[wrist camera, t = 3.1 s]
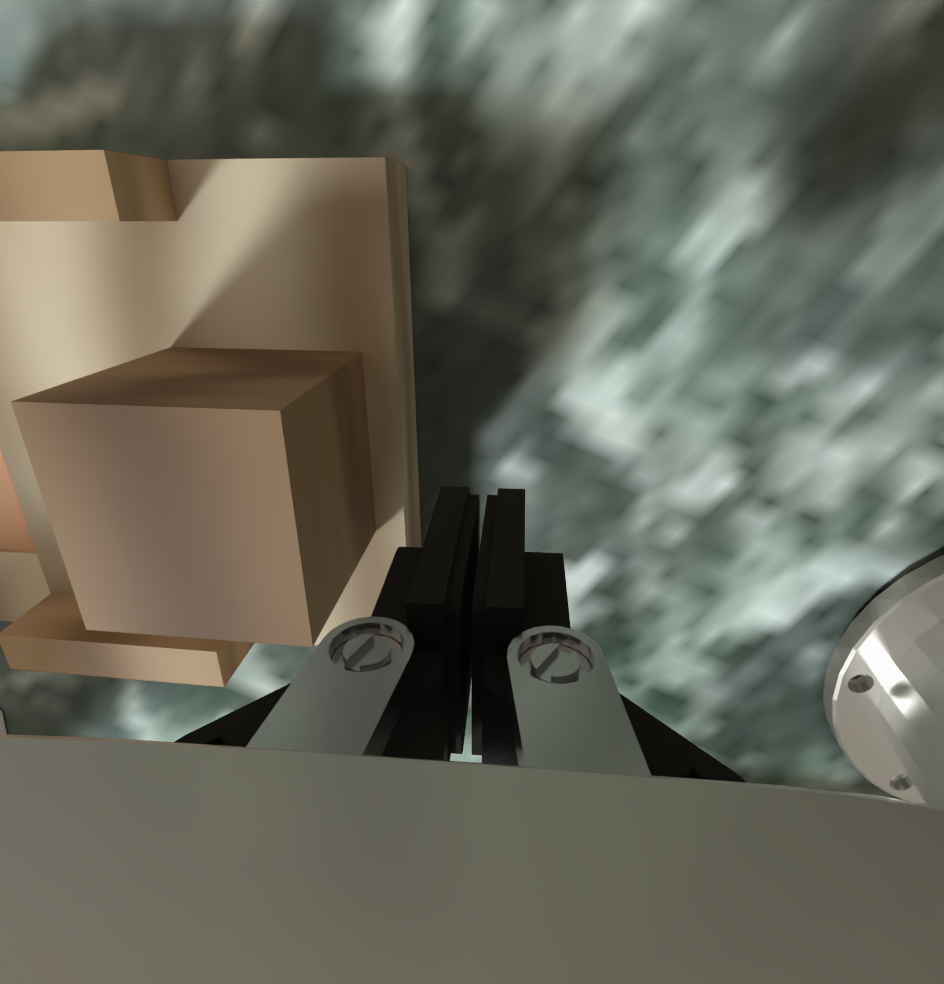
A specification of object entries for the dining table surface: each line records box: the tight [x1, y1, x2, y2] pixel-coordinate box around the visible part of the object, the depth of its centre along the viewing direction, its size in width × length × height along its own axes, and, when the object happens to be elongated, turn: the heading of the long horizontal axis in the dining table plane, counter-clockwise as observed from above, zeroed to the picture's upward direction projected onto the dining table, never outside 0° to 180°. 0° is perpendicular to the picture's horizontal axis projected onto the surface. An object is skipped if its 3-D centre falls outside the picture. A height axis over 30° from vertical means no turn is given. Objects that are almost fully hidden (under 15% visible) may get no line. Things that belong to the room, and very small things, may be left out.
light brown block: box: [11, 347, 376, 647], centre depth 16 cm, size 6×6×6 cm
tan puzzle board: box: [0, 150, 421, 687], centre depth 20 cm, size 25×16×5 cm, turn 90°
